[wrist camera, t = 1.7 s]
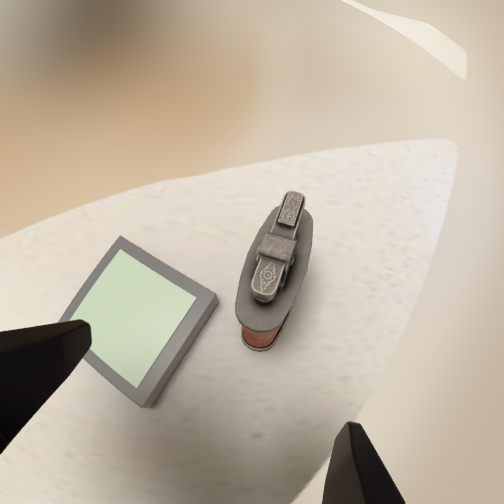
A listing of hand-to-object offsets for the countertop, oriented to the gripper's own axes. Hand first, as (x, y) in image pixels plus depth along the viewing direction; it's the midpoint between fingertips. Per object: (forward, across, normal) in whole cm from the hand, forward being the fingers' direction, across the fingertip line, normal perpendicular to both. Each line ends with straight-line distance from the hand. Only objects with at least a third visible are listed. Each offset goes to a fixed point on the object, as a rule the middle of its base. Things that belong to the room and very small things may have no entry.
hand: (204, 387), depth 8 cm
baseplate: (+11, +9, +8) cm, 16 cm away
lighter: (+15, 0, +4) cm, 15 cm away
